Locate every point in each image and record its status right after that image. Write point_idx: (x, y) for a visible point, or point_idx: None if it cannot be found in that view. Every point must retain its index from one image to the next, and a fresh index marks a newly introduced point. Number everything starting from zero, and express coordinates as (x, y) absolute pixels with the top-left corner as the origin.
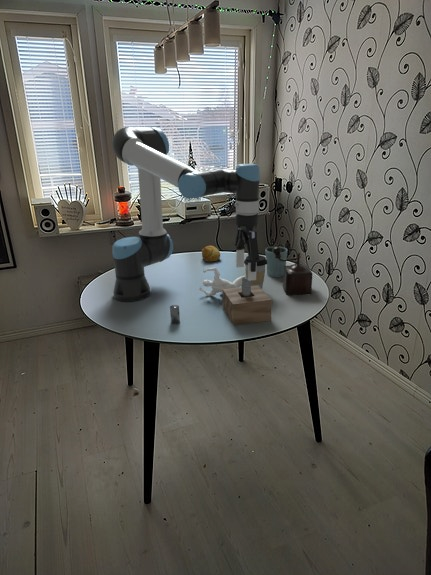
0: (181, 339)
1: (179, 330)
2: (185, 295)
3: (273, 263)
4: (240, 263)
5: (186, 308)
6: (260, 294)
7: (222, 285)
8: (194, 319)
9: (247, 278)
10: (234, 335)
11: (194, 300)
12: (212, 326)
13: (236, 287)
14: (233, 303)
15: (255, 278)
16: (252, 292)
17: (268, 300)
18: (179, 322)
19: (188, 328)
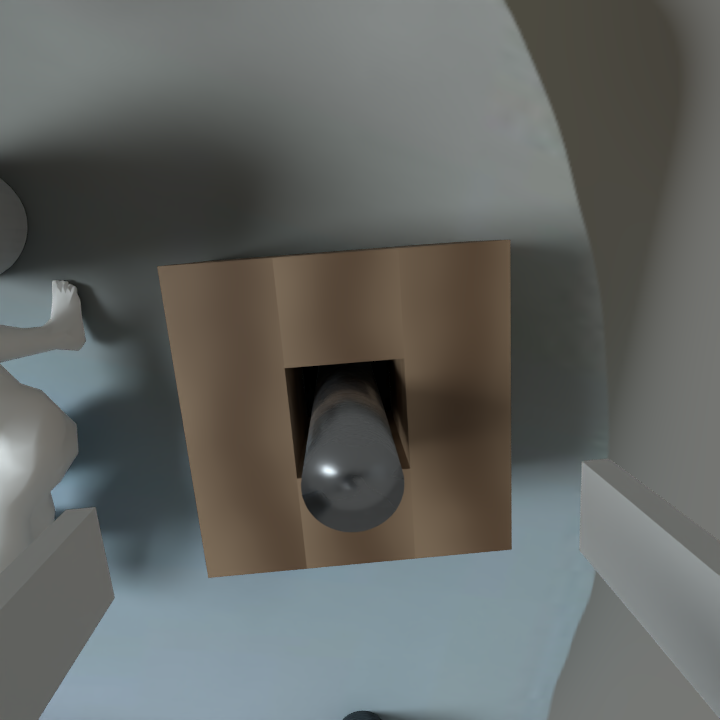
0: (539, 708)
1: (452, 714)
2: None
3: None
4: (78, 589)
5: (204, 677)
6: (379, 304)
7: (29, 526)
8: (351, 647)
9: (348, 473)
10: (575, 483)
11: (94, 632)
12: (451, 572)
13: (50, 414)
14: (498, 543)
15: (619, 475)
16: (322, 361)
17: (508, 269)
18: (373, 715)
19: (443, 678)
